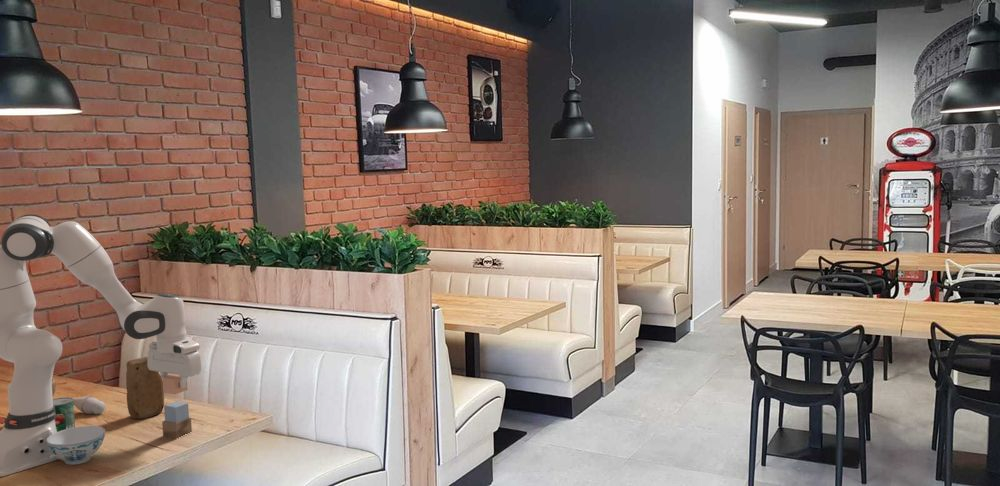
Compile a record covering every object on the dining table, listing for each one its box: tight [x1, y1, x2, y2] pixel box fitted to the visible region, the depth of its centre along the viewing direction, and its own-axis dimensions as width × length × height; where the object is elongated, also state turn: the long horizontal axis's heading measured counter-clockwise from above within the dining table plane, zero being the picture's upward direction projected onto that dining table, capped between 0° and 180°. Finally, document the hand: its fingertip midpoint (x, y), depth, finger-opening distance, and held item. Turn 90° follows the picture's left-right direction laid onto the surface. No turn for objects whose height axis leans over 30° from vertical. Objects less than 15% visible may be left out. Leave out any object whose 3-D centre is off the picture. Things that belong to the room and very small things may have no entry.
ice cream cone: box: [73, 395, 106, 415], centre depth 259 cm, size 6×6×15 cm
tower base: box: [161, 417, 193, 439], centre depth 237 cm, size 6×6×5 cm
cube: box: [162, 373, 188, 395], centre depth 236 cm, size 5×5×5 cm
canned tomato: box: [53, 396, 76, 432], centre depth 238 cm, size 8×8×11 cm
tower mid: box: [163, 400, 190, 423], centre depth 237 cm, size 5×5×5 cm
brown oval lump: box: [125, 356, 165, 420], centre depth 255 cm, size 11×8×20 cm
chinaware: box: [46, 425, 106, 466], centre depth 217 cm, size 15×15×8 cm
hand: (175, 386), depth 236 cm, fingers closed on cube, 5 cm apart
